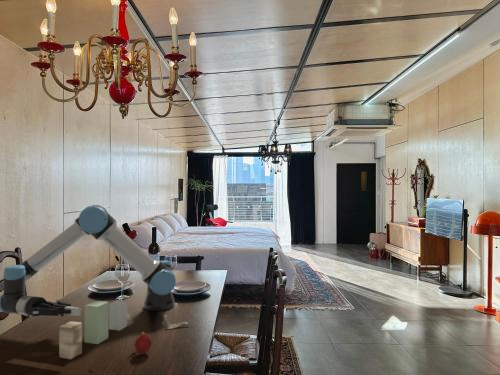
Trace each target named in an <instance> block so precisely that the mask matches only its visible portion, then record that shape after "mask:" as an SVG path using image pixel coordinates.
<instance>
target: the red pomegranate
mask: <svg viewBox="0 0 500 375" xmlns="http://www.w3.org/2000/svg"><path fill="white" fill-rule="evenodd" d="M151 347H152V338H151V337H150V336H149V335H148V334H146V333H145V332H144V331H142V332H141V334H140V335H138V336H137V338H136V339H135V342H134V348H135V351H136V352H138V353H139V354H141V355H142V356H145V354H146V353H147V352H149V350H150V349H151Z"/></svg>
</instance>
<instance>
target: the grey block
mask: <svg viewBox="0 0 500 375" xmlns="http://www.w3.org/2000/svg"><path fill="white" fill-rule="evenodd" d="M126 327H128V301H127V300H121V299H120V300H119V299H116V300H114V301H111V302H110V303H109V302H108V330H111V331H113V330H114V331H122V330H123V329H125V328H126Z"/></svg>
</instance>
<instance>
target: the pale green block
mask: <svg viewBox="0 0 500 375" xmlns="http://www.w3.org/2000/svg"><path fill="white" fill-rule="evenodd" d="M108 339H109V301H105V300H103V301H102V300H94V301H92V302H89V303H87V304H84V343H85V344H86V343H87V344H95V345H99V344H100V343H102V342H104V341H105V340H108Z"/></svg>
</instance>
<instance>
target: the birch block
mask: <svg viewBox="0 0 500 375" xmlns="http://www.w3.org/2000/svg"><path fill="white" fill-rule="evenodd" d="M58 328H59V329H58V330H59V332H58V336H59V337H58V338H59V340H58V342H59V344H58V345H59V346H58V347H59V348H58V355H59V356H58V358H62V359H68V360H73V359H74V358H75V357H78V356H79V355H81V354H82V353H83V322H80V321H73V320H72V321H71V320H70V321H68V322H66V323H64V324H61V325H59V326H58Z"/></svg>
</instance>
